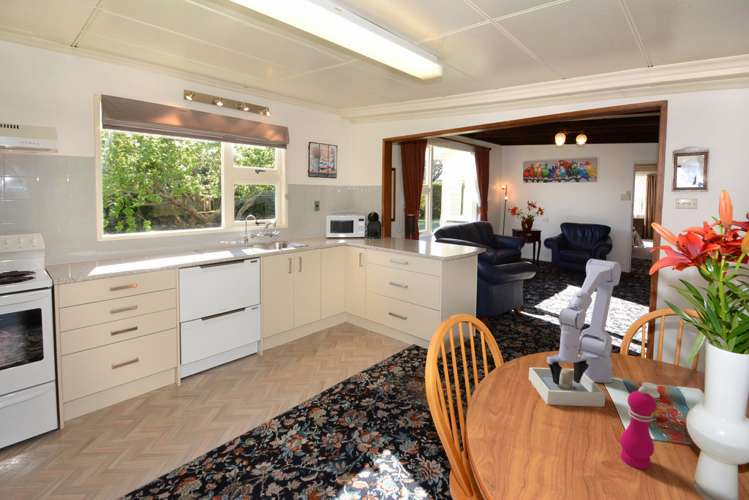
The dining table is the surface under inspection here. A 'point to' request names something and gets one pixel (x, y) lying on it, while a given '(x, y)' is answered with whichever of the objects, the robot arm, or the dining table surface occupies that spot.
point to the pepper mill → (638, 430)
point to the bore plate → (552, 386)
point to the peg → (566, 379)
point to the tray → (567, 397)
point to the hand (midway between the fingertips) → (566, 382)
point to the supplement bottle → (653, 392)
